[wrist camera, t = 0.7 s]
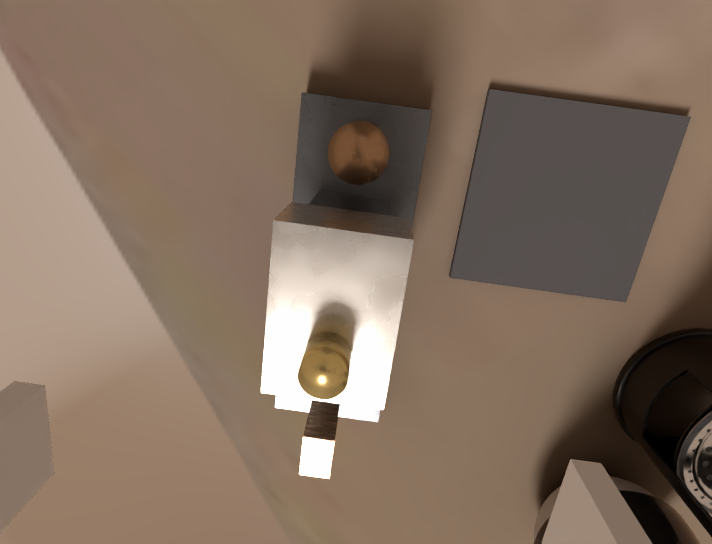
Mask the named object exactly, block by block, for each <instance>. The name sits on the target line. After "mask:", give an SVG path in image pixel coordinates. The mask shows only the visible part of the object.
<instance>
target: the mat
mask: <svg viewBox="0 0 712 544" xmlns="http://www.w3.org/2000/svg"><path fill="white" fill-rule="evenodd" d="M690 118H691V117H689V116H682V115H675V114H667V113H660V112H653V111H645V110H638V109H631V108H624V107H616V106H609V105H602V104H595V103H587V102H580V101H573V100H566V99H558V98H551V97H544V96H537V95H529V94H522V93H515V92H508V91H500V90H493V89H488V93H487V97H486V102H485V107H484V112H483V116H482V121H481V126H480V131H479V136H478V140H477V145H476V150H475V155H474V159H473V164H472V169H471V174H470V179H469V183H468V188H467V193H466V198H465V202H464V207H463V212H462V217H461V222H460V226H459V231H458V236H457V241H456V245H455V250H454V255H453V260H452V265H451V269H450V274H449V276H450V278H456V279H463V280H470V281H478V282H485V283H492V284H499V285H506V286H513V287H521V288H528V289H535V290H542V291H549V292H556V293H563V294H571V295H578V296H585V297H592V298H599V299H606V300H614V301H621V302H626V300H627V298H628V295H629V292H630V289H631V286H632V283H633V281H634V278H635V275H636V272H637V269H638V266H639V263H640V261H641V258H642V255H643V252H644V249H645V246H646V243H647V241H648V238H649V235H650V232H651V229H652V226H653V223H654V221H655V218H656V215H657V212H658V209H659V206H660V204H661V201H662V198H663V195H664V192H665V189H666V186H667V184H668V181H669V178H670V175H671V172H672V169H673V166H674V164H675V161H676V158H677V155H678V152H679V149H680V147H681V144H682V141H683V138H684V135H685V132H686V129H687V127H688V124H689V121H690Z"/></svg>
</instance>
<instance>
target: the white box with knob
mask: <svg viewBox="0 0 712 544" xmlns="http://www.w3.org/2000/svg"><path fill="white" fill-rule="evenodd" d="M413 243H414V238H413V234H412V230H411V226H410V223H409V219H408V218H404V217H396V216H389V215H382V214H375V213H368V212H360V211H353V210H346V209H339V208H332V207H325V206H317V205H310V204H303V203H296V202H291V203H290V204H289V205H288V206H287V207H286V208H285V209H284V210H283V211H282V212H281V213H280V214H279V215H278V216H277V217H276V218H275V219H274V220H273V232H272V246H271V259H270V273H269V287H268V301H267V315H266V328H265V342H264V356H263V370H262V383H261V393H266V394H273V395H280V396H287V397H294V398H301V399H309V400H316V401H323V402H330V403H337V404H344V405H351V406H358V407H365V408H372V409H379V410H384V406H385V401H386V395H387V389H388V384H389V378H390V373H391V367H392V361H393V356H394V350H395V344H396V339H397V333H398V328H399V322H400V316H401V311H402V305H403V299H404V294H405V288H406V283H407V277H408V271H409V266H410V260H411V254H412V249H413Z"/></svg>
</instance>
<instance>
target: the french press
mask: <svg viewBox="0 0 712 544" xmlns="http://www.w3.org/2000/svg"><path fill="white" fill-rule="evenodd" d="M687 372H688V373H690V374H691V375H692V376H693V377H694V378H696V379H697V380H698V381H699V382H700V383H701V384H703V385H704V386H705V387H706V388H707V389H709V390H710V391H711V392H712V329H698V328H697V329H689V330H682V331H678V332H675V333H671V334H668V335H665V336H663V337H661V338H659V339H657V340H654V341H653V342H651V343H650V344H648V345H647V346H645V347H644V348H642V349H641V350H640V351H638V352H637V353H636V354H635V355H634V356H633V357H632V358H631V359H630V360H629V361H628V363H627V364H626V365H625V367H624V368H623V369H622V371H621V373H620V375H619V377H618V379H617V381H616V385H615V389H614V393H613V407H614V411H615V415H616V418H617V420H618V422H619V424H620V426H621V427H622V429H623V430H624V431H625V432H626V433H627V434H628V435H629V436H630V438H632V439H633V440H635V441H636V442H637V443H638V444H639V445H640V446H641V447H642V449H643V450H644V451H645V453H646V454H647V455H648V456H649V458H650V459H651V460H652V461H653V463H654V464H655V465H656V467H657V468H658V469H659V470H660V472H661V473H662V474H663V476H664V477H665V478H666V479H667V481H668V482H669V483H670V484H671V486H672V487H673V488H674V490H675V491H676V492H677V493H678V495H679V496H680V497H681V499H682V500H683V501H684V502H685V504H686V505H687V506H688V507H689V509H690V510H691V511H692V513H693V514H694V515H695V516H696V518H697V519H698V520H699V522H700V523H701V524H702V525H703V527H704V528H705V529H706V530H707V532H708V533H709V534H710V536H711V537H712V517H711V516H710V515H709V513H711V514H712V405H711V406H710V407H708V408H707V409H705V410H704V411H703V412H702V413H701V414H700V415H698V416H697V417H696V418H695V419H694V420H693V421H692V423H691V424H690V425H689V426H688V427H687V428H686V430H685V431H684V433H683V435H682V437H670V436H666V435H661V434H659V433H656V432H654V431H652V430H651V429H649V428H648V427H646V426H645V424H646V420H647V417H648V413H649V411H650V409H651V407H652V405H653V404H654V402H655V400H656V399H657V398H658V397H659V395H660V394H661V393H662V392H663V390H664V389H665V388H667V387H668V386H669V385H670V384H671V383H672V382H673V381H675V380H676V379H678V378H679V377H681V376H682V375H684V374H685V373H687Z"/></svg>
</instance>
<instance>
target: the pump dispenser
mask: <svg viewBox="0 0 712 544" xmlns="http://www.w3.org/2000/svg"><path fill="white" fill-rule="evenodd" d="M610 478H611V479H612V481H613V483H614V484H615V486H616V487H617V489H618V490H619V492H620V494H621V495H622V497H623V498H624V500H625V501H626V503H627V505H628V506H629V508H630V509H631V511H632V512H633V514H634V516H635V517H636V519H637V520H638V522H639V523H640V525H641V527H642V528H643V530H644V531H645V533H646V534H647V536H648V538H649V539H650V541H651V542H652V544H700V542H699V541H698V539H697V538H696V536H695V534H694V533H693V531H692V530H691V528H690V527H689V526H688V524H687V523H686V522H685V520H684V519H683V518H682V516H681V515H680V514H679V513H678V512H677V511H676V510H675V509H674V508H673V507H672V506H670V505H669V504H667V503H666V502H664V501H662V500H660V499H658V498H657V497H655V496H654V495H653V494H651V493H650V492H648V491H647V490H645V489H644V488H642V487H640V486H638V485H636V484H634V483H632V482H629V481H627V480H624V479H621V478H617V477H612V476H610ZM560 488H561V486H560V487H559V488H557V489H556V490H555V491H554V492H552V493H551V494H550V496H549V497H548V498H547V499H546V500H545V502H544V503H543V505H542V507H541V509H540V511H539V513H538V516H537V519H536V524H535V532H534V544H542V540H543V537H544V534H545V531H546V528H547V525H548V522H549V519H550V516H551V514H552V511H553V508H554V505H555V502H556V499H557V496H558V493H559V490H560Z"/></svg>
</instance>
